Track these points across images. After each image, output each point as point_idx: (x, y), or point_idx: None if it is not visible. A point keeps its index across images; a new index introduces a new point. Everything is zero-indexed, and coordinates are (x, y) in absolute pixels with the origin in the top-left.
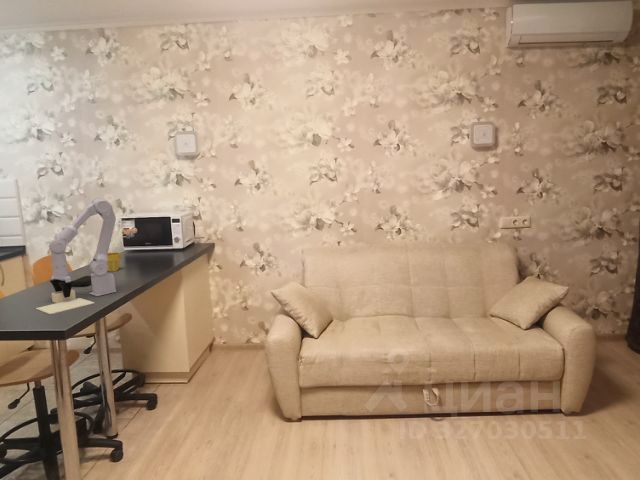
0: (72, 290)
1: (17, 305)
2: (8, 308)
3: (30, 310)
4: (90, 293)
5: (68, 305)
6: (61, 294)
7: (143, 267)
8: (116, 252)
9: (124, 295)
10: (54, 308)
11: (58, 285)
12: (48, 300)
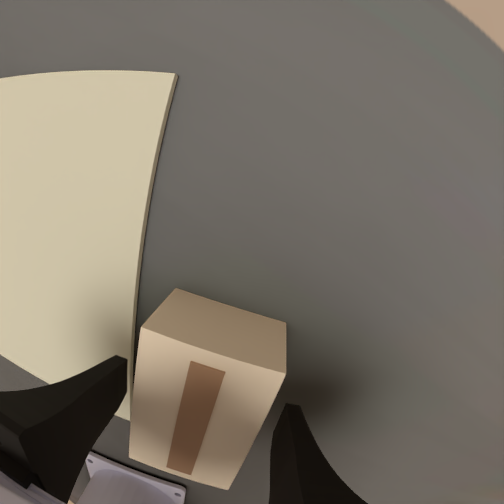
0: (158, 464)
1: (490, 118)
2: (467, 34)
3: (193, 33)
4: (162, 484)
5: (10, 250)
6: (139, 373)
7: None
8: None
9: None
10: (24, 153)
11: (280, 496)
12: (357, 330)
